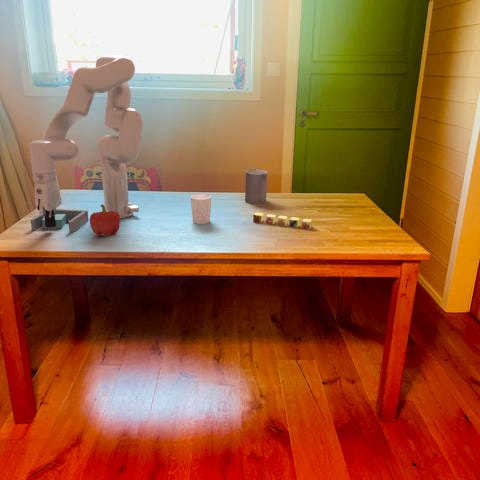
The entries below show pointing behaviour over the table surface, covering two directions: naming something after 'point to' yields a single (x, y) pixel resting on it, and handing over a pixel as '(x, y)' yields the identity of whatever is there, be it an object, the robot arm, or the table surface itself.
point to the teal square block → (57, 221)
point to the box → (74, 216)
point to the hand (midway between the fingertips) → (50, 226)
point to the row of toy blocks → (282, 220)
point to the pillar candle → (256, 186)
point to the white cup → (201, 208)
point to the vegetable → (105, 222)
